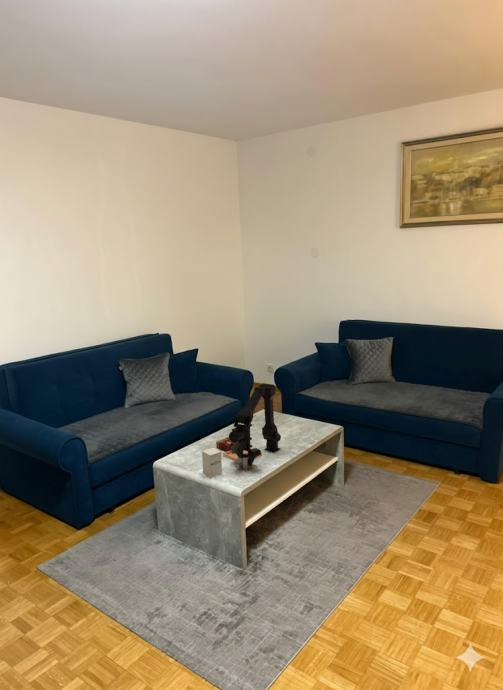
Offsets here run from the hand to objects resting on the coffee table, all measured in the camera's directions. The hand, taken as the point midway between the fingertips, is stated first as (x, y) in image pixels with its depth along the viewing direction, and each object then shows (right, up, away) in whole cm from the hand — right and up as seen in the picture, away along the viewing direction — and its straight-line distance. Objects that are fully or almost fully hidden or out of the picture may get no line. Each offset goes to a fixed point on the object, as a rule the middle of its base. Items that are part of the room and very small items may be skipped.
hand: (245, 464), depth 262 cm
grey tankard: (0, -1, 0) cm, 1 cm away
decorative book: (-9, +2, +26) cm, 27 cm away
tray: (-2, +1, +14) cm, 14 cm away
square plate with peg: (0, -2, 0) cm, 2 cm away
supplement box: (-17, -4, -6) cm, 18 cm away
